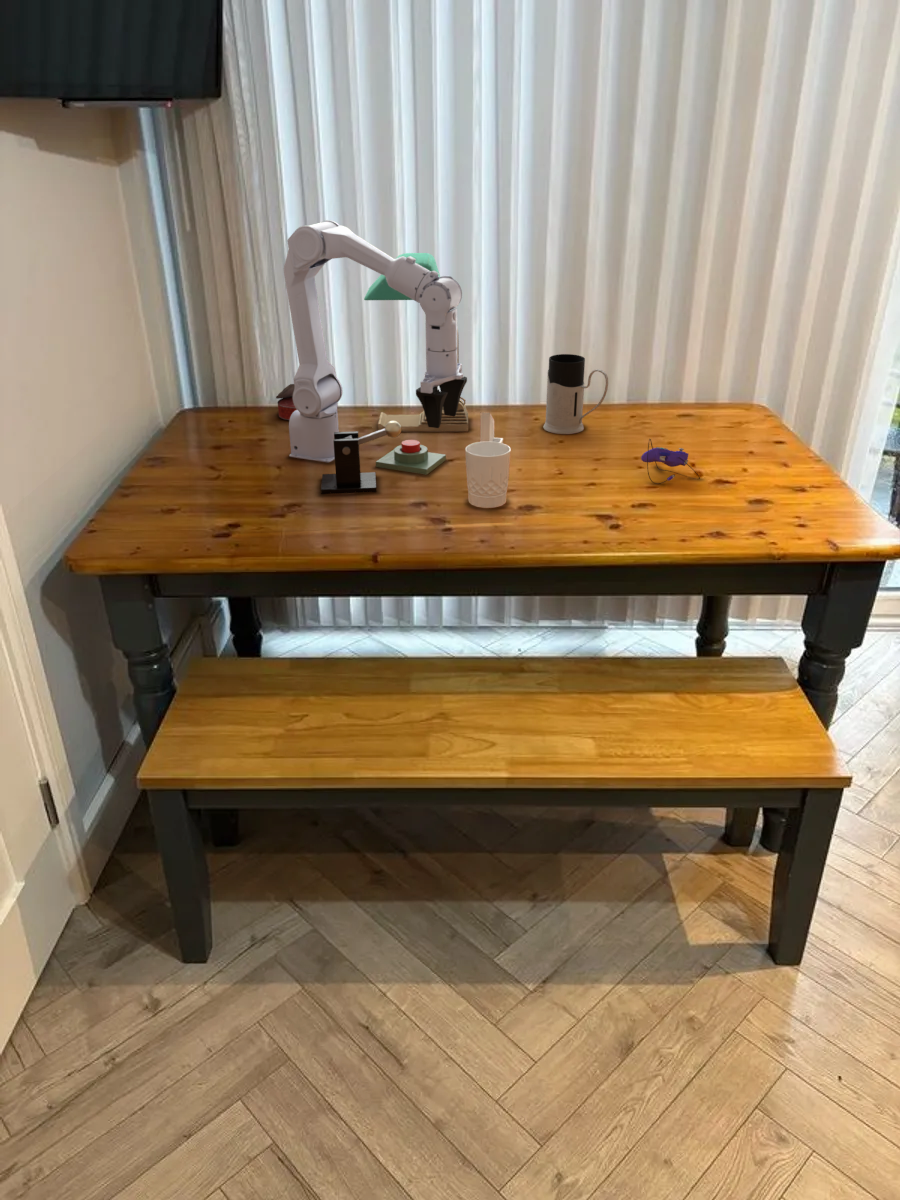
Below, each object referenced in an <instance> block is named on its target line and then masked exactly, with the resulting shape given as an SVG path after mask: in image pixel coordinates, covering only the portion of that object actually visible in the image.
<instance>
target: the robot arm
mask: <svg viewBox="0 0 900 1200" xmlns="http://www.w3.org/2000/svg"><path fill="white" fill-rule="evenodd" d="M286 243H287V248H288V250H287V254H286V257H285V261H284V264H283V274H284V281H285V286H286V292H287V298H288V299H287V300H288V306H289V310H290V316H291V323H292V329H293V334H294V335H293V336H294V342H295V346H296V353H297V359H298V364H299V365H298V368H297V370H296V372H295V375H294V377H293V384H294V385H295V387H294V392H293V403H294V405H295V407H296V409H297V410H295V411H294V412H293V413H292V415H291V417H290V420H288V433H289V443H290V444H289V445H290V454H289V457H290V458H297V459H301V460H303V459H304V460H309V461H316V462H322V463H332V462H333V461H335V456H334V442H333V441H334V432H340V430H339V429H340V427H339V414H338V413H339V412H338V403H339V402H340V401H341V399H342V396H343V387H342V383H341V381H340V380H339V378H338V376H337V372H336V367H335V366H334V365H333V364H331V362H329V360H328V356H327V355H328V354H327V350H326V342H325V335H324V330H323V329H324V328H323V324H322V323H323V322H322V316H321V311H320V303H319V298H318V290H317V284H316V276H317V274H318V273H319V272H320V271H321V269H322V268H323V267H324V266H325V265H326V263H328V262H329V261H331V260H333V259H343V258H347V259H349V260H352V261H353V262H355V263H357V264H360V265H362V266H364V267H366V268H367V269H369V270H372V271H374V272H376V273H378V274H380V275H381V274H382V275H384V276H385V277H386V280H387V283H388V285H389V286H390V287H391V288H393V289H395V290H397V291H398V292H400V293H402V294H404V295H406V296H407V297H409V298H411V299H413V300H412V301H415V302H416V303H418V304H419V306H420V307H421V309H422V311H423V312H424V314H425V373H424V375H423V378H422V380H421V381H420V387H418V388H416V389H415V396H416V397H417V399H418V400H419V402H420V404H421V407H422V409H423V411H424V412H425V416H426V420H427V424H428V427H433V428H439V427H440V424H441V418H442V409H443V410H444V414H445V415H447V416H456V413H457V409H458V404H459V400H460V397H462V396H461V395H462V393H463V390H464V388H465V386H466V384H467V383H468V376H464V373H463V363H461V362H459V363H457V328H458V308H457V307H458V306H459V304H460V303H461V301H462V298H463V290H462V287H461V285H460V283H459V282H458V281H457V280H456V279H454V278H453V277H452V276H451V275H442V276H440V277H439V276H438V274H439V275H440V272H439V273H438V272H436V271H432V272H431V271H429V270H427V269H426V268H424V267H422V266H420V265H418V264H417V263H415V261H416V259H415V258H413V257H411V256H409V257H407V258H406V257H404V256H402V257H399V258H397V257H396V258H397V259H395V258H394V257H392V256H390V255H389V254H388V253H385V252H384V251H383V250H381V249H380V248H378V247H376V246H375V245H373V244H371V243H370V242H368V241H367V240H365V239H364V238H362V237H360V236H359V235H357V234H355V232H353V231H352V230H351V229H350V228H349V227H347V226H345V225H340V224H339V223H338V222H336V221H334V220H331V219H327V220H323V221H321V222H318V223H313V224H309V225H302V226H299V227H298V228H296V229H295V230H294V231H293V233H291V235H290V236H289V237H288V238H287V241H286ZM438 387H439V388H438Z"/></svg>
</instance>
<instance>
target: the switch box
mask: <svg viewBox="0 0 900 1200" xmlns="http://www.w3.org/2000/svg"><path fill="white" fill-rule="evenodd" d="M445 461H447V454H444V453H437V452H430V451H429V450H428V447H427V446H425V445H423V444H420V451H419V452H416V453H405V452H402V447H401V444H400V445H397V446H395V447H394V448H393V450H391V451H389V452H388V453H386V454H384V455H383V456H382V457H381V458H379V459H377V460H376V461H375V467H376V468H380V469H381V468H382V469H387V470H388V469H389V470H394V471H402V472H407V473H414V474H419V475H420V474H421V475H428V474H429V473H431V472H432V471H433V470H435V469H436V468H437V467H439V466H440V465H442V464H443V463H444V462H445Z"/></svg>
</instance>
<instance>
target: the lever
mask: <svg viewBox="0 0 900 1200" xmlns="http://www.w3.org/2000/svg"><path fill="white" fill-rule="evenodd" d="M401 433H402V432H401V426H400V424H399V423H398V422H396V421H390V422H388V423H387V424H386V426H385V429H382V430H379V431H378V430H376V431H374V432H371V433H368V434H365V435H362V436H360V437H359V436H358V444H359V446H360V445H362V444H365V443H367V442H368V443H369V442H371V441H374V440H377V439H380V438H383V437H385V436H387V437H390V438H393V439H394V438H397V437H399V436H400V435H401ZM342 439H353V438H352V436H348V437H345V438H342ZM356 439H357V438H356Z"/></svg>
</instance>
